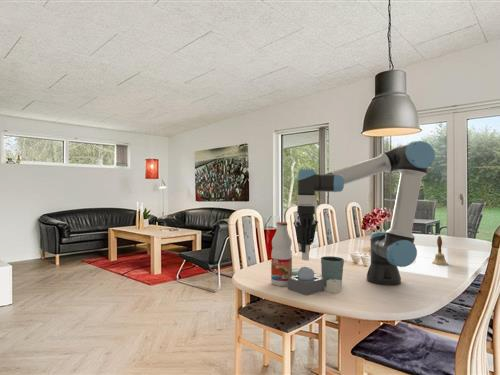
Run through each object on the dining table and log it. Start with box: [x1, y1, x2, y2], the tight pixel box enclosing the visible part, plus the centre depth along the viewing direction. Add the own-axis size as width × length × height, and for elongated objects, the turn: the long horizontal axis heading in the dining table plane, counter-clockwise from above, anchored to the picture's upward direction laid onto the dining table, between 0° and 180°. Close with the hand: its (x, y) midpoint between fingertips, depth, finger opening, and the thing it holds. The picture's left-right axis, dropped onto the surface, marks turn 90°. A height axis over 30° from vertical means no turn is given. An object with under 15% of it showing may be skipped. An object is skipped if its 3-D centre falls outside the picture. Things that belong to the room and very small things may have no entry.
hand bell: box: [431, 235, 449, 266], centre depth 200 cm, size 8×8×16 cm
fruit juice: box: [270, 221, 293, 287], centre depth 158 cm, size 9×9×28 cm
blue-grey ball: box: [298, 265, 315, 282], centre depth 149 cm, size 7×7×7 cm
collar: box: [287, 275, 325, 296], centre depth 149 cm, size 11×11×5 cm
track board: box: [292, 267, 322, 278], centre depth 170 cm, size 24×13×1 cm, turn 37°
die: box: [326, 279, 342, 294], centre depth 147 cm, size 4×4×5 cm
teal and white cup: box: [320, 255, 345, 288], centre depth 156 cm, size 10×10×12 cm
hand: (305, 259), depth 149 cm, fingers closed
